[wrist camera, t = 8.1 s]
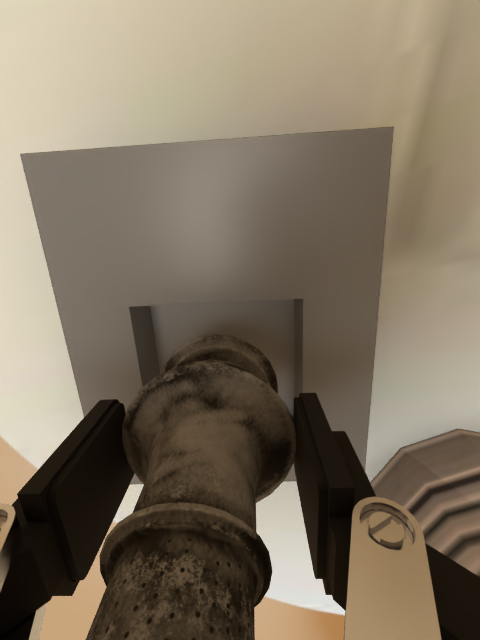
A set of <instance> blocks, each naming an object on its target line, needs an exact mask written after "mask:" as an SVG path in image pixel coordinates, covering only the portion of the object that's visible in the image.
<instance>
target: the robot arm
mask: <svg viewBox="0 0 480 640" xmlns="http://www.w3.org/2000/svg"><path fill="white" fill-rule="evenodd" d="M125 414H126V412H125V407H124V404H123V403H120V402H119V401H118V400H117V399H106V400H100V401H98V403H97V404H96V405H95V406H94V407H93V408H92V409H91V411H90V412H89V413H88V414H87V415H86V416H85V417H84V418H83V420H82V421H81V422H80V423H79V424H78V425H77V426H76V428H75V429H74V430H73V431H72V432H71V433H70V434H69V436H68V437H67V438H66V439H65V440H64V441H63V442H62V444H61V445H60V446H59V447H58V448H57V449H56V450H55V451H54V453H53V454H52V455H51V456H50V457H49V458H48V459H47V461H46V462H45V463H44V464H43V465H42V466H41V467H40V469H39V470H38V471H37V472H36V473H35V474H34V476H33V477H32V478H31V479H30V480H29V481H28V482H27V483H26V485H25V486H24V487H23V488H22V489H21V490H20V491H19V492H18V494H17V495H18V499H17V500H16V501H15V502H14V503H13V504H12V506H11V505H9V504H0V640H39V636H40V632H41V628H42V624H43V619H44V615H45V611H46V603H47V602H48V601H50V600H51V598H52V596H72V595H73V593H74V591H75V589H76V587H77V585H78V583H79V581H80V580H83V579H85V577H86V576H87V574H88V572H89V570H90V568H91V566H92V564H93V561H94V559H95V557H96V555H97V553H98V551H99V548H100V547H101V544H102V542H103V540H104V538H105V536H106V534H107V532H108V529H109V527H110V525H111V523H112V521H113V519H114V517H115V515H116V512H117V510H118V508H119V506H120V504H121V502H122V500H123V498H124V495H125V493H126V491H127V489H128V487H129V485H130V483H131V480H132V478H133V476H134V474H135V473H134V471H133V470H132V468H131V467H130V465H129V464H128V461H127V458H126V455H125V451H124V448H123V441H122V424H123V421H124V418H125ZM294 423H295V429H296V455H295V460H294V469H295V475H296V480H297V486H298V491H299V496H300V501H301V507H302V512H303V517H304V523H305V528H306V533H307V539H308V544H309V549H310V554H311V560H312V565H313V570H314V575H315V578H316V579H323V584H324V588H325V593H326V595H332V596H333V600H334V601H336V602H337V603H338V604H339V605H340V606H341V607H342V608H343V609H344V610H345V611H346V612H345V627H344V640H480V577H479V576H477V575H476V574H474V573H473V572H471V571H469V570H468V569H466V568H465V567H463V566H461V565H460V564H458V563H457V562H455V561H453V560H452V559H450V558H449V557H447V556H446V555H444V554H442V553H441V552H439V551H438V550H436V549H434V548H433V547H431V546H430V545H428V544H426V543H425V540H424V535H423V532H422V529H421V526H420V524H419V523H418V522H417V520H416V519H415V517H414V516H413V515H412V514H411V513H410V512H409V511H408V510H407V509H406V508H404V507H402V506H401V505H399V504H398V503H396V502H394V501H391V500H388V499H386V498H380V497H377V496H376V494H375V492H374V490H373V488H372V486H371V484H370V482H369V479H368V477H367V475H366V473H365V471H364V469H363V467H362V465H361V463H360V461H359V459H358V456H357V454H356V452H355V450H354V448H353V446H352V444H351V442H350V440H349V438H348V436H347V434H346V432H345V431H332V430H331V428H330V426H329V423H328V421H327V418H326V416H325V413H324V411H323V408H322V406H321V404H320V401H319V399H318V396H317V394H316V393H315V392H314V393H300V394H299V397H294Z"/></svg>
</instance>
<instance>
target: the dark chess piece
mask: <svg viewBox="0 0 480 640" xmlns="http://www.w3.org/2000/svg"><path fill="white" fill-rule="evenodd" d="M122 441H123V448H124V451H125V455H126V458H127V461H128V464H129V465H130V467H131V468H132V470H133V471H134V473H135V474H136V476H137V477H138V478H139V480H140V481H141V482H142V483H143V484H144V487H143V489H142V491H141V494H140V496H139V499H138V501H137V504H136V506H135V508H134V511H133V513H132V514H131V515H129V516H128V517H126V518H125V519H123V520H122V521H120V522H119V523H117V525H116V526H115V527H114V528H113V530H112V531H111V532H110V533H109V534H108V536H107V537H106V539H105V542H104V545H103V548H102V551H101V554H100V572H101V574H102V577H103V579H104V582H105V584H106V586H107V588H106V590H105V593H104V595H103V598H102V600H101V603H100V605H99V608H98V610H97V613H96V615H95V618H94V620H93V623H92V625H91V628H90V630H89V633H88V635H87V638H86V640H255V638H254V607H255V606H256V605H258V604H259V603H260V602H261V600H262V599H263V597H264V595H265V594H266V592H267V590H268V589H269V586H270V581H271V575H272V566H271V561H270V556H269V551H268V550H267V548H266V546H265V544H264V543H263V541H262V539H261V538H260V536H259V535H258V534H257V533H256V503H257V502H258V501H260V500H262V499H263V498H265V497H267V496H268V495H270V494H271V493H272V492H273V491H274V490H275V489H276V488H277V487H278V486H279V485H280V484H281V483H282V482H283V481H284V480H285V479H286V477H287V475H288V473H289V471H290V469H291V467H292V466H293V464H294V460H295V455H296V429H295V423H294V420H293V418H292V416H291V414H290V412H289V410H288V407H287V405H286V403H285V402H284V401H283V400H282V399H281V398H280V396H279V395H278V383H277V376H276V373H275V371H274V369H273V367H272V365H271V363H270V361H269V360H268V359H267V358H266V356H265V355H264V354H263V353H262V352H261V351H260V350H259V349H258V348H256V347H255V346H253V345H252V344H250V343H249V342H247V341H244V340H242V339H239V338H236V337H233V336H227V335H217V334H215V335H208V336H201V337H198V338H196V339H193V340H191V341H189V342H186V343H185V344H183V345H182V346H181V347H180V348H178V349H177V350H176V351H175V352H174V353H173V354H172V355H171V357H170V358H169V360H168V361H167V363H166V364H165V366H164V369H163V372H162V374H159V375H157V376H156V377H155V378H153V379H152V380H151V381H150V382H148V383H147V384H146V385H145V386H143V387H142V388H141V389H140V390H139V392H138V393H137V394H136V396H135V397H134V399H133V400H132V402H131V403H130V405H129V406H128V407H127V411H126V414H125V418H124V421H123V424H122Z"/></svg>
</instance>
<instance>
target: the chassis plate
mask: <svg viewBox="0 0 480 640" xmlns="http://www.w3.org/2000/svg"><path fill="white" fill-rule="evenodd" d="M393 129H394V127H382V128H369V129H355V130H341V131H327V132H314V133H300V134H286V135H272V136H259V137H245V138H231V139H218V140H204V141H190V142H176V143H163V144H149V145H135V146H121V147H108V148H94V149H80V150H67V151H53V152H39V153H25V154H20V156H21V160H22V164H23V168H24V172H25V176H26V180H27V184H28V188H29V192H30V197H31V201H32V205H33V209H34V213H35V217H36V221H37V225H38V229H39V233H40V238H41V242H42V246H43V250H44V254H45V258H46V262H47V266H48V270H49V274H50V279H51V283H52V287H53V291H54V295H55V299H56V303H57V307H58V311H59V316H60V320H61V324H62V328H63V332H64V336H65V340H66V344H67V348H68V352H69V357H70V361H71V365H72V369H73V373H74V377H75V381H76V385H77V389H78V393H79V398H80V402H81V406H82V410H83V414H84V417H85V416H86V415H87V414H88V413H89V412H90V411H91V409H92V408H93V407H94V406H95V405H96V404H97V403H98V401H100V400H106V399H117V400H118V401H119V402H120V403H123V404H124V407H125V412H126V411H127V407H128V406H129V405H130V403H131V402H132V400H133V399H134V397H135V396H136V394H137V393H138V392H139V390H140V389H141V388H142V387H143V386H145V385H146V384H147V383H148V382H150V381H151V380H152V379H153V378H155V377H156V376H157V375H159V374H162V372H163V369H164V366H165V364H166V363H167V361H168V360H169V358H170V357H171V355H172V354H173V353H174V352H175V351H176V350H177V349H178V348H180V347H181V346H182V345H183V344H185V343H186V342H189V341H191V340H193V339H196V338H198V337H201V336H208V335H215V334H217V335H227V336H233V337H236V338H239V339H242V340H244V341H247V342H249V343H250V344H252V345H253V346H255V347H256V348H258V349H259V350H260V351H261V352H262V353H263V354H264V355H265V356H266V358H267V359H268V360H269V361H270V363H271V365H272V367H273V369H274V371H275V373H276V376H277V383H278V395H279V396H280V398H281V399H282V400H283V401H284V402H285V403H286V405H287V407H288V410H289V412H290V414H291V416H292V418H293V420H294V397H299V394H300V393H314V392H315V393H316V394H317V396H318V399H319V401H320V404H321V406H322V408H323V411H324V413H325V416H326V418H327V421H328V423H329V426H330V428H331V430H332V431H345V432H346V434H347V436H348V438H349V440H350V442H351V444H352V446H353V448H354V450H355V452H356V454H357V456H358V459H359V461H360V463H361V465H362V467H363V469H364V471H365V463H366V451H367V439H368V427H369V415H370V403H371V391H372V379H373V368H374V356H375V344H376V332H377V320H378V308H379V296H380V284H381V272H382V260H383V248H384V236H385V224H386V212H387V201H388V189H389V177H390V165H391V153H392V141H393ZM284 481H297V480H296V475H295V469H294V464H293V466H292V467H291V469H290V471H289V473H288V475H287V477H286V479H285V480H284ZM130 484H143V483H142V482H141V481H140V480H139V478H138V477H137V476H136V474H134V476H133V478H132V480H131V483H130Z"/></svg>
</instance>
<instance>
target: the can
mask: <svg viewBox="0 0 480 640" xmlns="http://www.w3.org/2000/svg"><path fill="white" fill-rule="evenodd" d="M370 484H371V486H372V488H373V490H374V492H375V494H376V496H377V497H380V498H386V499H388V500H391V501H394V502H396V503H398V504H399V505H401V506H402V507H404V508H406V509H407V510H408V511H409V512H410V513H411V514H412V515H413V516H414V517H415V519H416V520H417V522H418V523H419V524H420V526H421V529H422V532H423V535H424V540H425V543H426V544H428V545H430V546H431V547H433V548H434V549H436V550H438V551H439V552H441V553H442V554H444V555H446V556H447V557H449V558H450V559H452V560H453V561H455V562H457V563H458V564H460V565H461V566H463V567H465V568H466V569H468V570H469V571H471V572H473V573H474V574H476V575H477V576H479V577H480V433H478V432H473V431H467V430H462V429H455V430H453V431H450V432H447V433H444V434H441V435H438V436H435V437H432V438H429V439H426V440H423V441H420V442H417V443H414V444H411V445H408V446H405V447H402V448H400V449H399V451H398V452H397V453H396V454H395V455H394V456H393V457H392V458H391V460H390V461H389V462H388V463H387V464H386V465H385V466H384V468H383V469H382V470H381V471H380V472H379V473H378V474H377V476H376V477H375V478H374V479H373V480H372V481H371V482H370Z"/></svg>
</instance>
